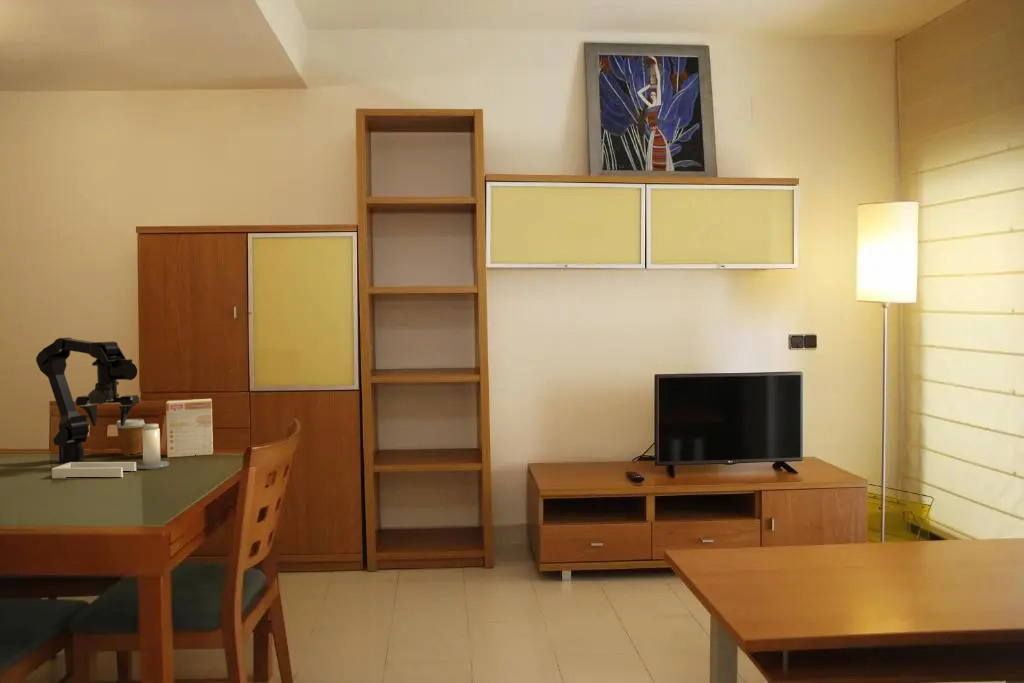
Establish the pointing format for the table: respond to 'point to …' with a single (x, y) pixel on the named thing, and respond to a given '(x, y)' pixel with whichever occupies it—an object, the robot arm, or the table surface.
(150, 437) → the salt mill
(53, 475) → the channel
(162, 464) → the coaster
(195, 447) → the coffeecake box
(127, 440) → the disposable coffee cup
